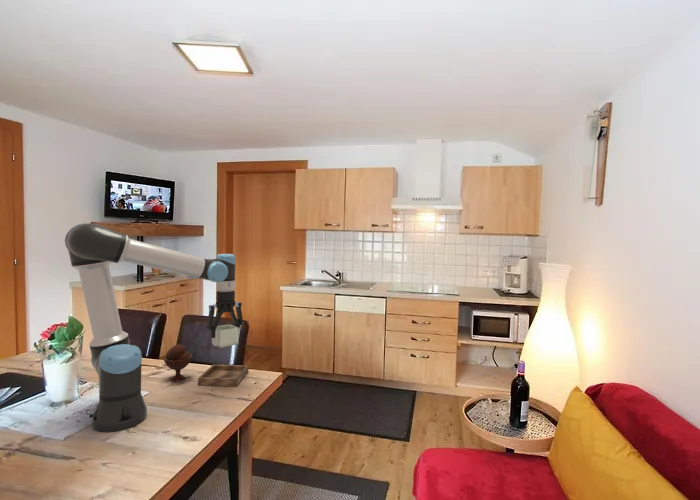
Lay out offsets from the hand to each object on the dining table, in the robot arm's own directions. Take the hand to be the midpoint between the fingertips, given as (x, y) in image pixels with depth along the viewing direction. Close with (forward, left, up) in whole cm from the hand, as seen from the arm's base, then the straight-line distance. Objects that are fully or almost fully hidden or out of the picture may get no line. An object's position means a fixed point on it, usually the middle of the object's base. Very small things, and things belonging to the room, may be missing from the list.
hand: (225, 343), depth 156 cm
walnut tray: (0, 0, -15) cm, 15 cm away
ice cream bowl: (-19, -2, -15) cm, 25 cm away
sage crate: (0, 0, 0) cm, 0 cm away
